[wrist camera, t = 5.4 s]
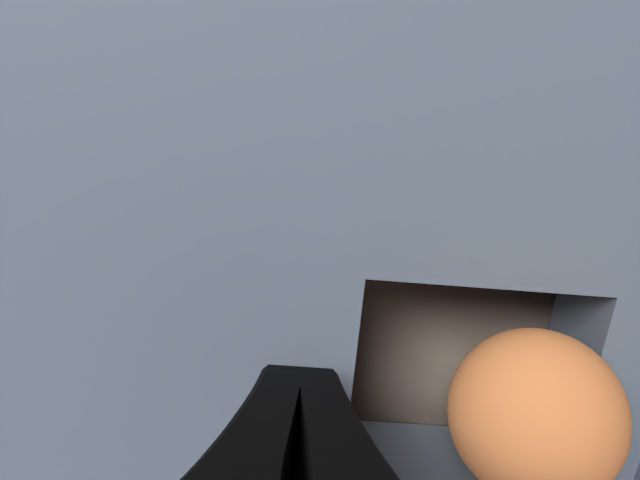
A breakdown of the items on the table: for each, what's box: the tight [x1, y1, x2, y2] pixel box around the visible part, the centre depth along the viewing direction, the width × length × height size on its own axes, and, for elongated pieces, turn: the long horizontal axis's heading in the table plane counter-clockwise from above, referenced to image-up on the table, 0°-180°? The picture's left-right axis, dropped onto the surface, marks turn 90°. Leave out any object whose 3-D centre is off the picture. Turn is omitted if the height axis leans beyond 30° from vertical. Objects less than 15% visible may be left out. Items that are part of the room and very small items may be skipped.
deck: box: [0, 0, 640, 480], centre depth 12 cm, size 16×22×4 cm
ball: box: [447, 327, 632, 480], centre depth 11 cm, size 3×3×3 cm
